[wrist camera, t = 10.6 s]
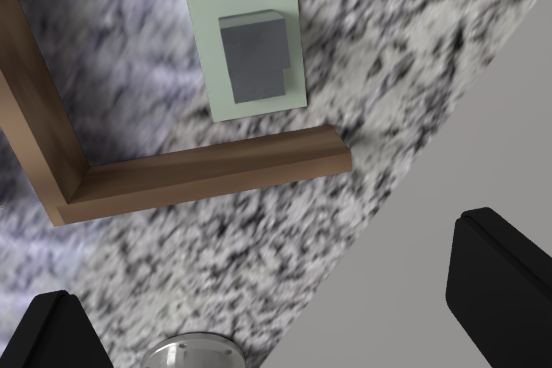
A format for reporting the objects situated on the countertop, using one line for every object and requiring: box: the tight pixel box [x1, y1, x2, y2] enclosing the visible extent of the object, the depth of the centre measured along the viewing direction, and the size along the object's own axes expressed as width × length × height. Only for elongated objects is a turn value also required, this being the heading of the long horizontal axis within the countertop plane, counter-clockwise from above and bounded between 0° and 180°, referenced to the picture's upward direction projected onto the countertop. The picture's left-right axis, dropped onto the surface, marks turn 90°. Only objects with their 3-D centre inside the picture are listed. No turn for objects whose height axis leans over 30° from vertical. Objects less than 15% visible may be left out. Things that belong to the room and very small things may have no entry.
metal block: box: [218, 9, 291, 104], centre depth 27 cm, size 4×6×6 cm, turn 8°
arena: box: [0, 0, 352, 227], centre depth 26 cm, size 22×23×6 cm
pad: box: [187, 0, 307, 122], centre depth 30 cm, size 10×8×1 cm
